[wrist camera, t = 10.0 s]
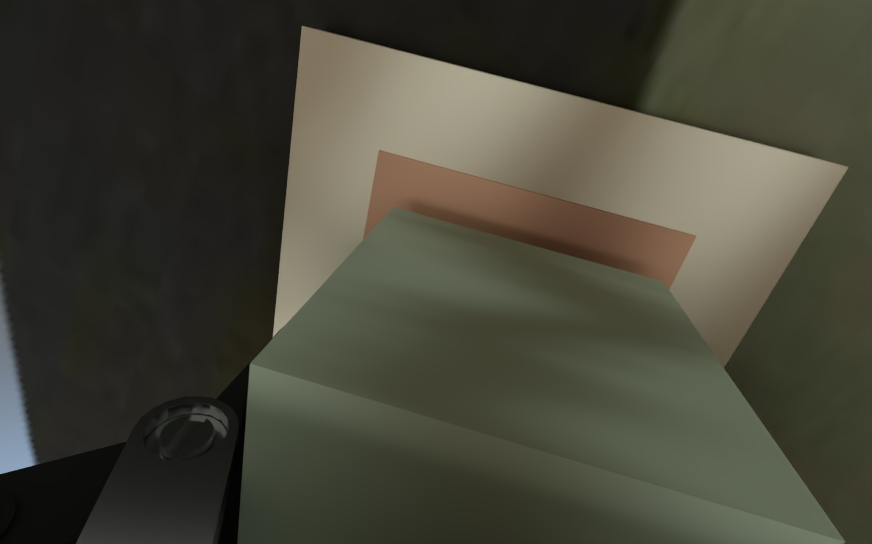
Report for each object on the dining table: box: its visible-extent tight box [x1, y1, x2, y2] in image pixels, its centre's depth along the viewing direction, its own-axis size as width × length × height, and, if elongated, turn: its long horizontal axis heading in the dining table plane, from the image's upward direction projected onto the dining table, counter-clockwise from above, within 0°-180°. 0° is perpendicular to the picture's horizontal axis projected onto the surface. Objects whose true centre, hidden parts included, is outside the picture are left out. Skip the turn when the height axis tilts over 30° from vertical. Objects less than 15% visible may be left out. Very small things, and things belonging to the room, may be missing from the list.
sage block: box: [237, 207, 845, 544], centre depth 8 cm, size 6×6×6 cm
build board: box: [273, 26, 848, 368], centre depth 13 cm, size 12×12×1 cm
